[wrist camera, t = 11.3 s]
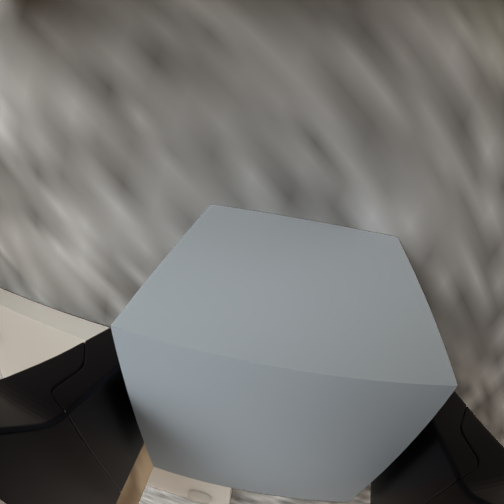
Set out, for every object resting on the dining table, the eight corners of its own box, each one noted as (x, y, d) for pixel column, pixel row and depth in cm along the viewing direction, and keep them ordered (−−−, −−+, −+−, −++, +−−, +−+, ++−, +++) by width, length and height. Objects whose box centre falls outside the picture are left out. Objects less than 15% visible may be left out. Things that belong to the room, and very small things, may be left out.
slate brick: (210, 204, 9) (110, 325, 4) (397, 237, 8) (458, 386, 4) (206, 342, 11) (153, 466, 7) (348, 367, 10) (348, 502, 6)
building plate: (-31, 274, 13) (-48, 288, 12) (248, 362, 11) (239, 394, 10) (50, 430, 20) (43, 442, 19) (231, 496, 19) (227, 513, 17)
